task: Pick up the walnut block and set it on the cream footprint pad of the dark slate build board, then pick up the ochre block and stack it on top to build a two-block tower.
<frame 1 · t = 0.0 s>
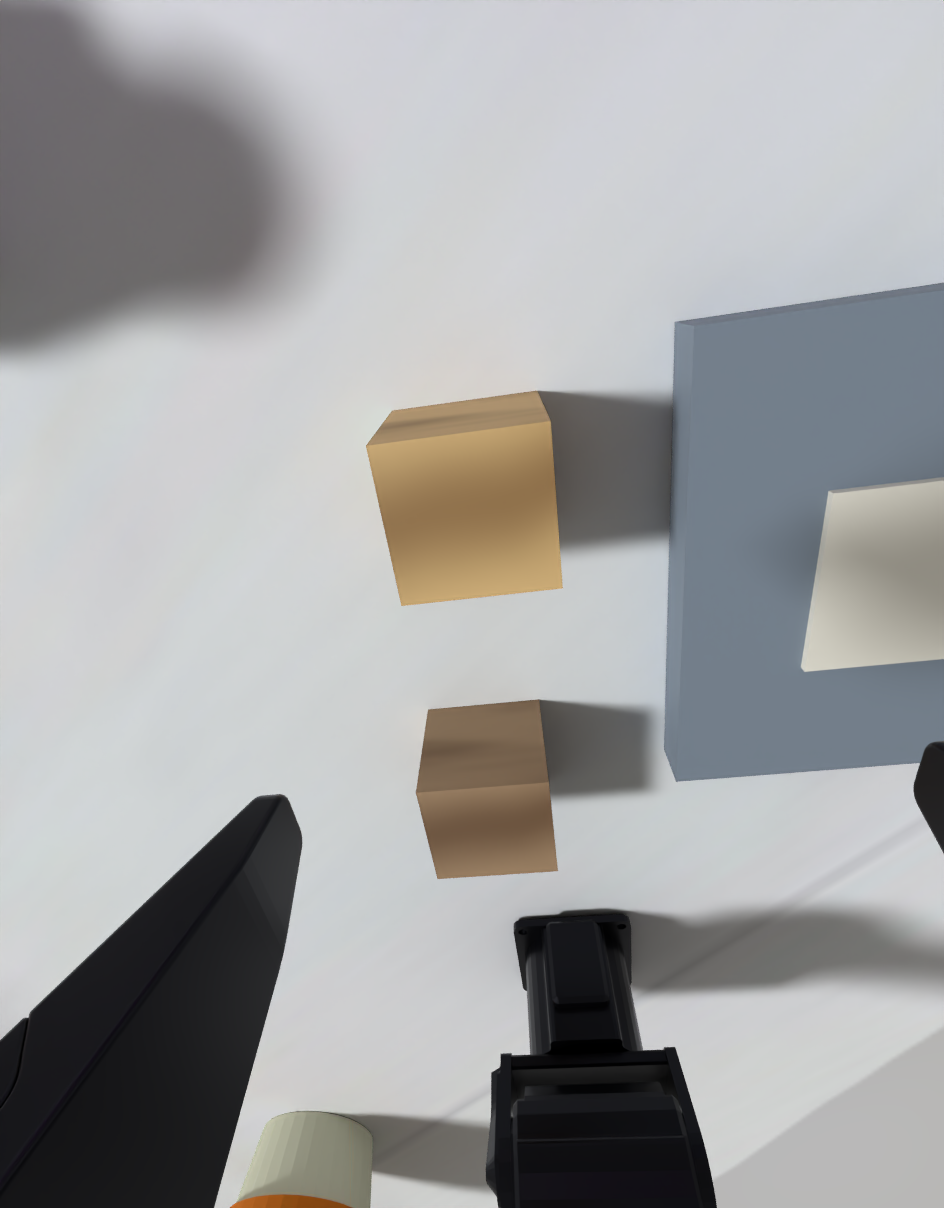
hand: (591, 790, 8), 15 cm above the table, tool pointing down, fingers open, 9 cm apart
reusable coffee cup: (319, 1133, 48), on the table
ochre block: (473, 471, 21), on the table
build board: (884, 552, 22), on the table
walnut block: (489, 745, 27), on the table
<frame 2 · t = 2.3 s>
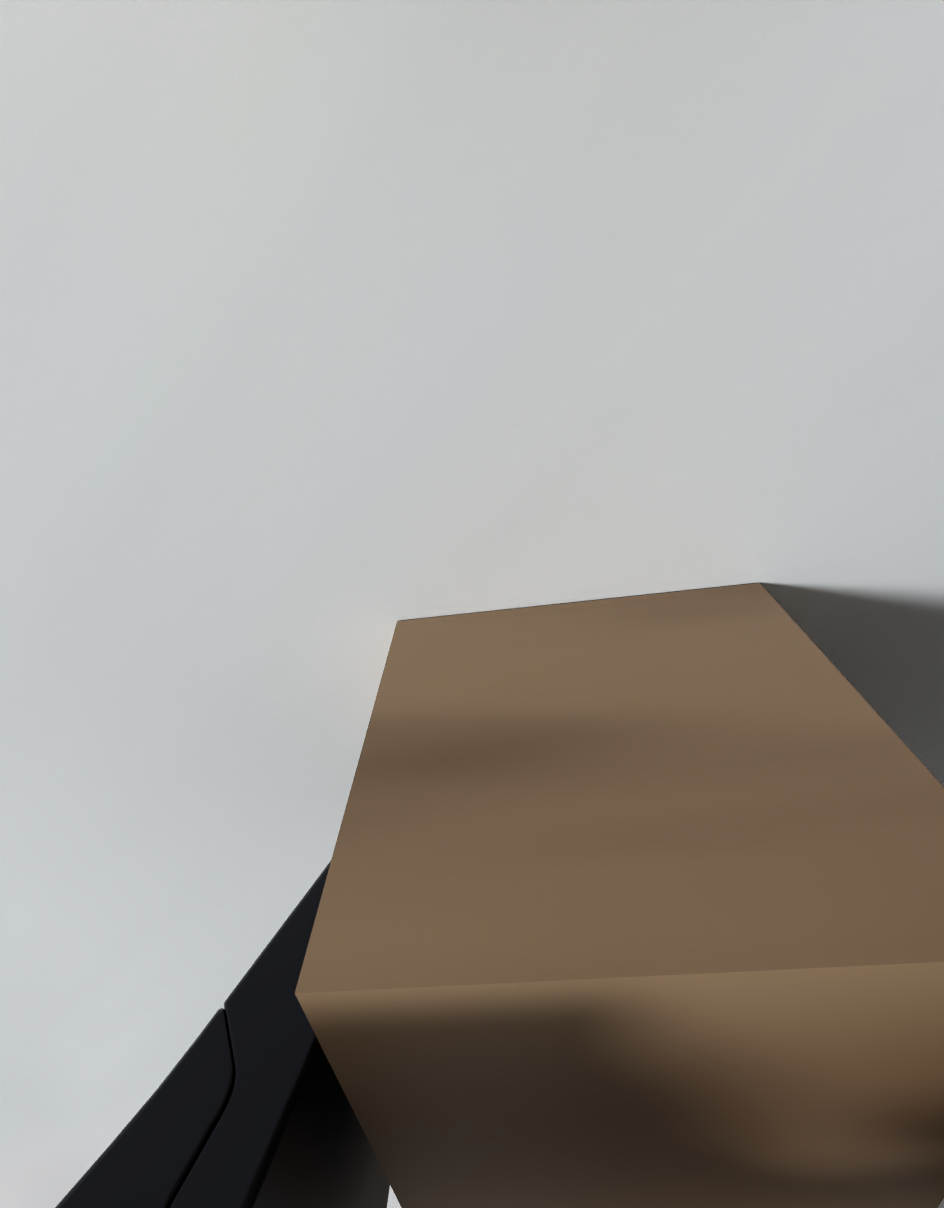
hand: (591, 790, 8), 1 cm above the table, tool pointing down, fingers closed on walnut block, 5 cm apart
walnut block: (582, 739, 9), on the table, touching gripper
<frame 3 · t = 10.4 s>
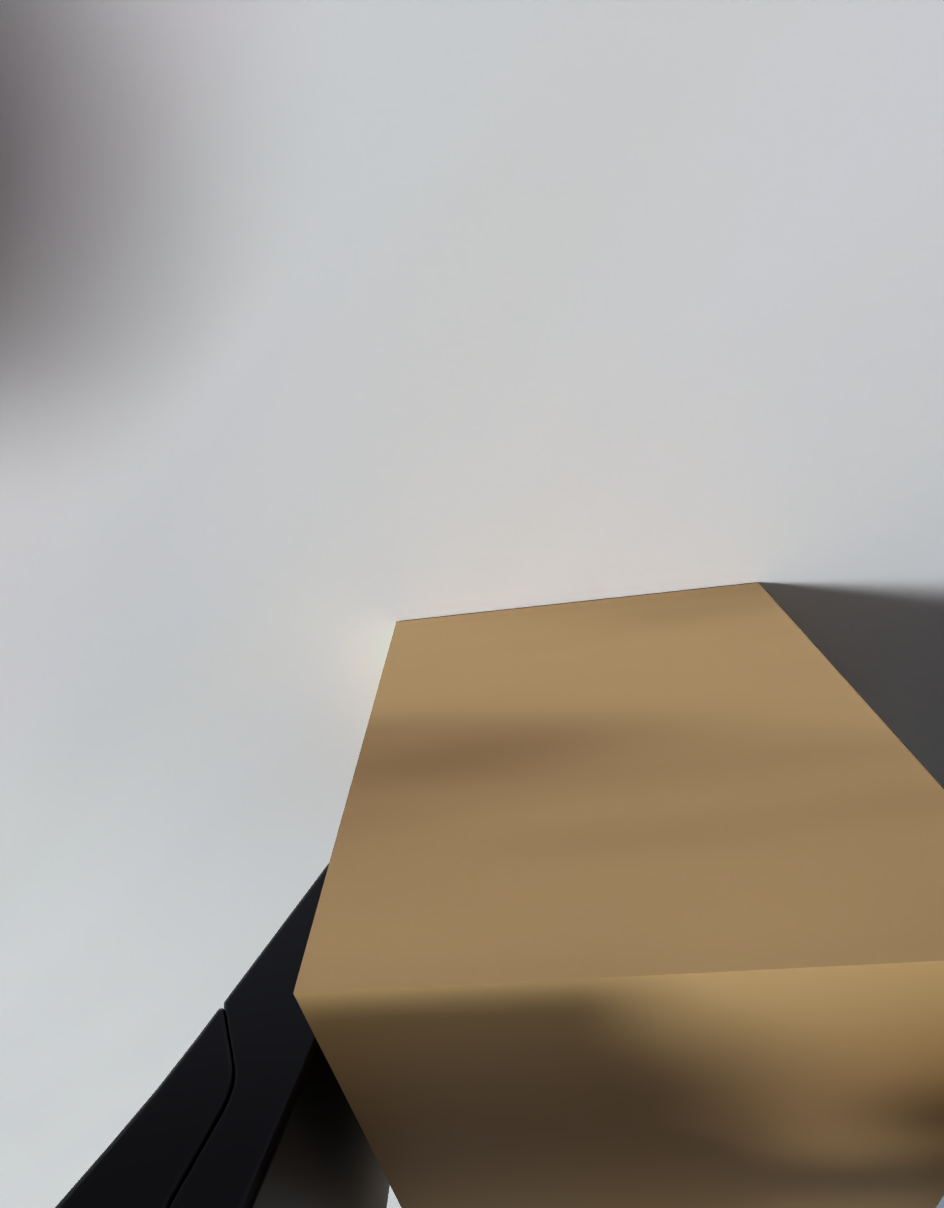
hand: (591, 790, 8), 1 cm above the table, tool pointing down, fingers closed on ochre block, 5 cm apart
ochre block: (581, 739, 9), on the table, touching gripper
when the fingers open (9 cm above the table, at t = 13.8 s): ochre block drops 1 cm, resting on walnut block.
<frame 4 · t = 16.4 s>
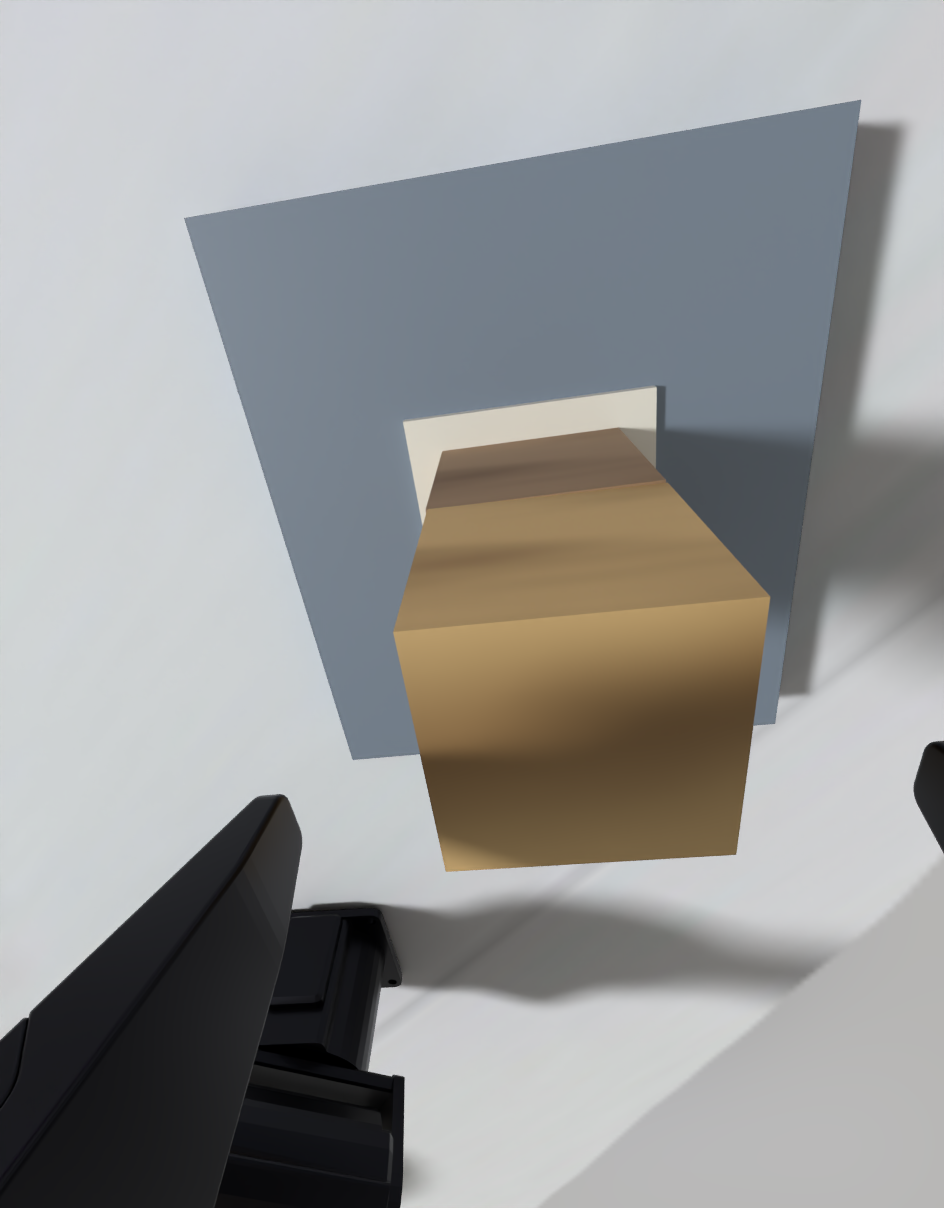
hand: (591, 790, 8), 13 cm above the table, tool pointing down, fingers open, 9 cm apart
ochre block: (552, 601, 13), point 7 cm above the table, touching walnut block
build board: (533, 499, 20), on the table
walnut block: (536, 522, 18), point 2 cm above the table, touching build board, ochre block
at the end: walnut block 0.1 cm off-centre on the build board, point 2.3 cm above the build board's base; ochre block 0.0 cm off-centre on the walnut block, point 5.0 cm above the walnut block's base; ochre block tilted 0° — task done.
